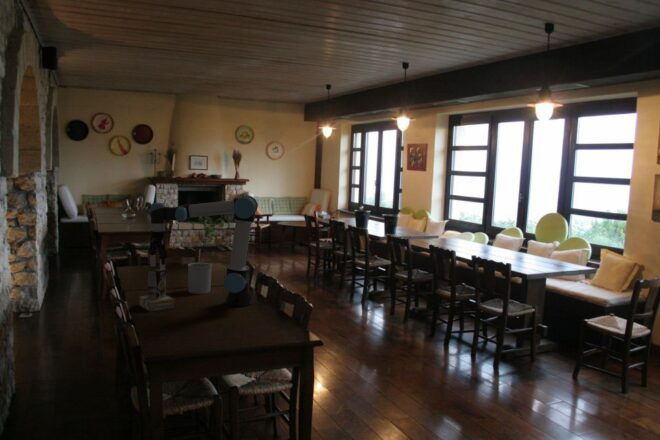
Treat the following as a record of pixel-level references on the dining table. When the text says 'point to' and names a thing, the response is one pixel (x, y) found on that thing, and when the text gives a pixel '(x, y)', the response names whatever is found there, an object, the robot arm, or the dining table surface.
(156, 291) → the coffee box
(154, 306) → the dock
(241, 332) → the dining table surface
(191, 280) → the utensil holder
